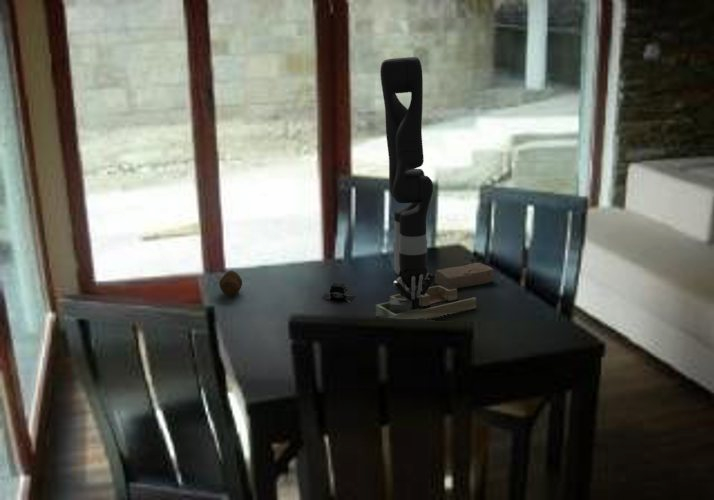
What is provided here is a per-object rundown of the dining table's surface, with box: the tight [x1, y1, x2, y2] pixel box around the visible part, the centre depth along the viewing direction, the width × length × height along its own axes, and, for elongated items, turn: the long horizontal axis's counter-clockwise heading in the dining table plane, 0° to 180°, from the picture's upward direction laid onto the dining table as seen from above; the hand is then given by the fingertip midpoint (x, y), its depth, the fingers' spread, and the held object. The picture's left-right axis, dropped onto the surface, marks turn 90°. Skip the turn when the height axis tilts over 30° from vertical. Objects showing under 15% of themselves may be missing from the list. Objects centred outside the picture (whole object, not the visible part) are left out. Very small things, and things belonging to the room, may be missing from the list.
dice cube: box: [390, 298, 412, 314], centre depth 222 cm, size 5×5×5 cm
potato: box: [219, 270, 243, 298], centre depth 244 cm, size 7×12×7 cm, turn 9°
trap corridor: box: [375, 284, 477, 319], centre depth 229 cm, size 15×27×4 cm, turn 120°
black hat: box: [320, 282, 357, 303], centre depth 239 cm, size 12×7×5 cm, turn 75°
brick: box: [434, 262, 495, 290], centre depth 251 cm, size 17×8×5 cm, turn 113°
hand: (413, 310), depth 225 cm, fingers closed
